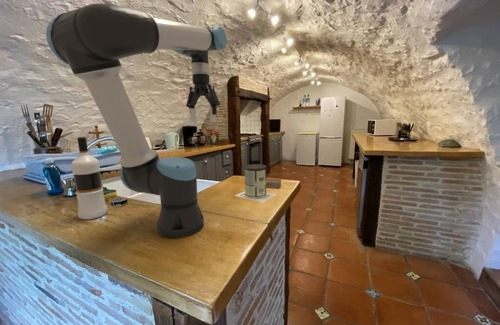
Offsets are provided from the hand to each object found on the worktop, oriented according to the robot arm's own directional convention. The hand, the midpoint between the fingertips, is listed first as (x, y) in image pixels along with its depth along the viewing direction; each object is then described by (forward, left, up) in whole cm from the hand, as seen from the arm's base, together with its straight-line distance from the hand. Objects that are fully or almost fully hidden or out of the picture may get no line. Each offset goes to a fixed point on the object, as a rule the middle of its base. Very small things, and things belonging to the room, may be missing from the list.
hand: (203, 122), depth 103 cm
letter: (+10, -23, -35) cm, 43 cm away
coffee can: (+10, -23, -35) cm, 43 cm away
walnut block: (+26, -23, -35) cm, 49 cm away
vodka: (-43, +17, -35) cm, 58 cm away
